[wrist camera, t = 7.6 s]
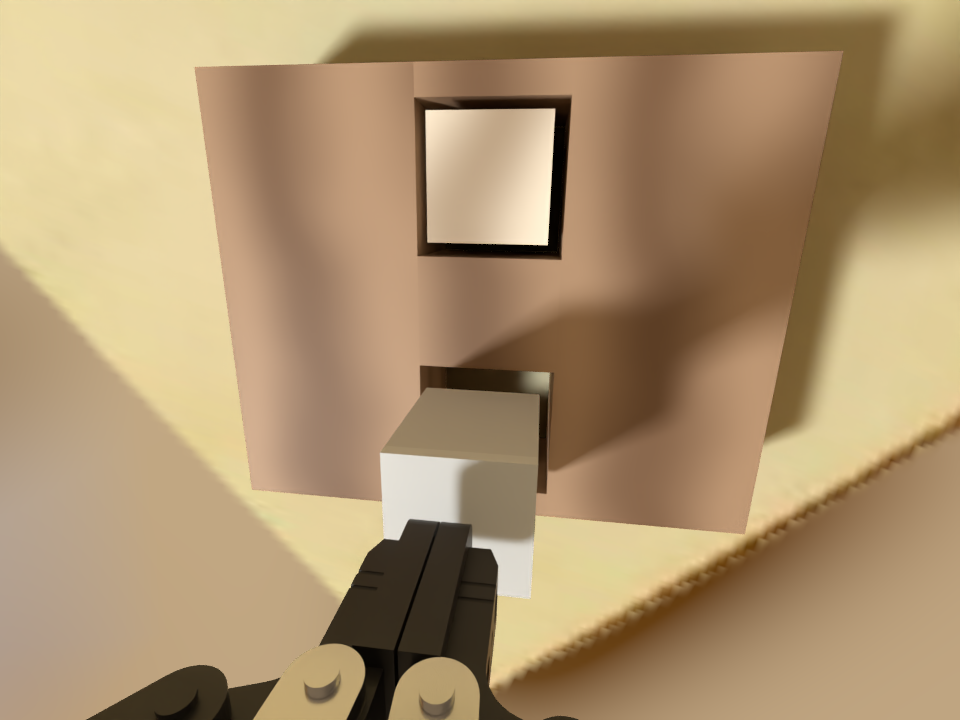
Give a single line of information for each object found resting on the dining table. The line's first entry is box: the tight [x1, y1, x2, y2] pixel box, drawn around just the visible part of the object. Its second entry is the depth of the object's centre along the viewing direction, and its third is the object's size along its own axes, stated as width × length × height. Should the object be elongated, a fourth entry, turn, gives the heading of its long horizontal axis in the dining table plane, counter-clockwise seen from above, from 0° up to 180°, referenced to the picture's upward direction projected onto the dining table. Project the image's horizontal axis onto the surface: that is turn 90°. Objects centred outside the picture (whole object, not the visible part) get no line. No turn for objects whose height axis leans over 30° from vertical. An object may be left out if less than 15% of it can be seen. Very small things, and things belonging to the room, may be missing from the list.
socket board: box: [195, 51, 843, 534], centre depth 19 cm, size 20×16×5 cm
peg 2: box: [380, 388, 540, 599], centre depth 15 cm, size 4×4×5 cm
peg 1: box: [425, 109, 555, 245], centre depth 17 cm, size 4×4×5 cm
